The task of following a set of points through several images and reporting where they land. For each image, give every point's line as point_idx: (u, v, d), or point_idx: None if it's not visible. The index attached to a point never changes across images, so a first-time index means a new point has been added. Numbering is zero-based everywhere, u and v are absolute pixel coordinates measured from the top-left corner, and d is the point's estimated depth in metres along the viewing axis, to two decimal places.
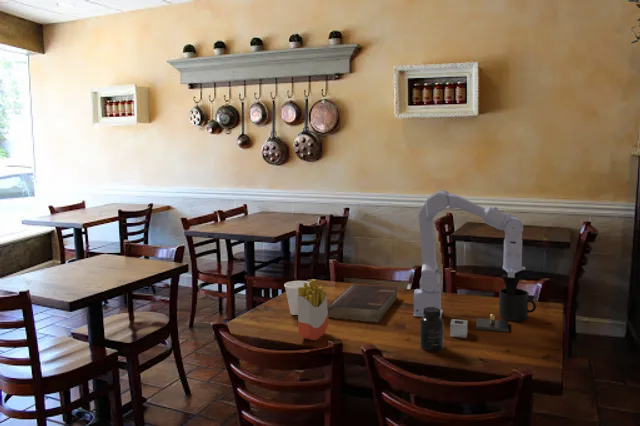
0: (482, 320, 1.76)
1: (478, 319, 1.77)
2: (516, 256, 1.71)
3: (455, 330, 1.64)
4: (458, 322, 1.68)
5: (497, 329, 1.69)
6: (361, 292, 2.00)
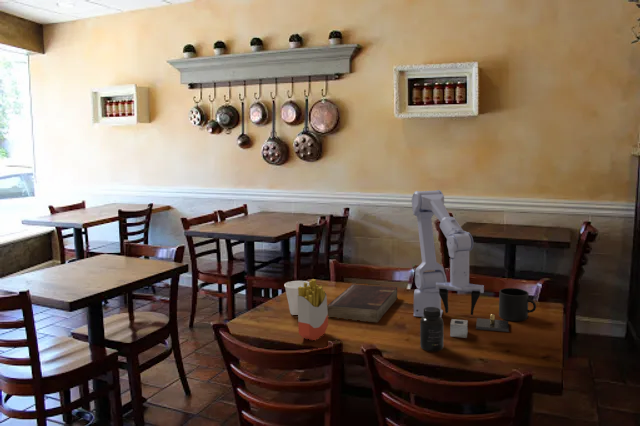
0: (482, 320, 1.76)
1: (478, 319, 1.77)
2: (451, 272, 1.64)
3: (455, 330, 1.64)
4: (458, 322, 1.68)
5: (497, 329, 1.69)
6: (361, 292, 2.00)
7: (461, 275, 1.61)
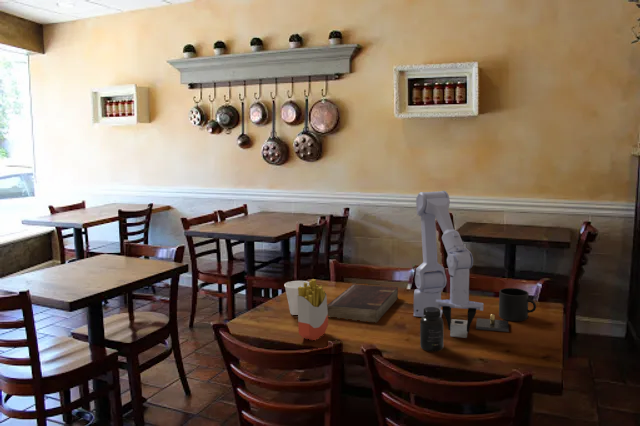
0: (482, 320, 1.76)
1: (478, 319, 1.77)
2: (450, 290, 1.64)
3: (455, 330, 1.64)
4: (458, 322, 1.68)
5: (497, 329, 1.69)
6: (361, 292, 2.00)
7: (461, 293, 1.62)
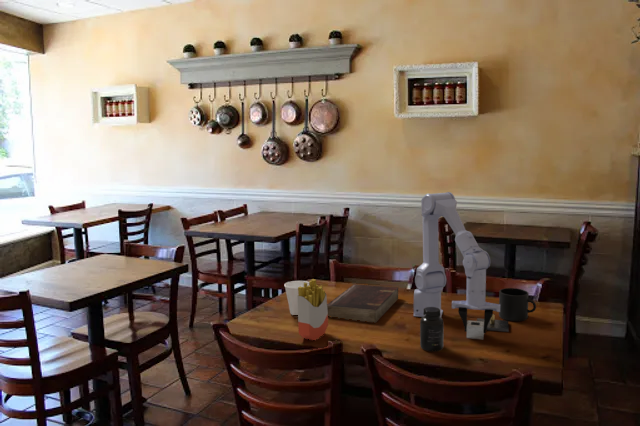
0: (482, 320, 1.76)
1: (478, 319, 1.77)
2: (467, 291, 1.63)
3: (471, 331, 1.63)
4: (474, 323, 1.66)
5: (497, 329, 1.69)
6: (361, 292, 2.00)
7: (478, 294, 1.60)
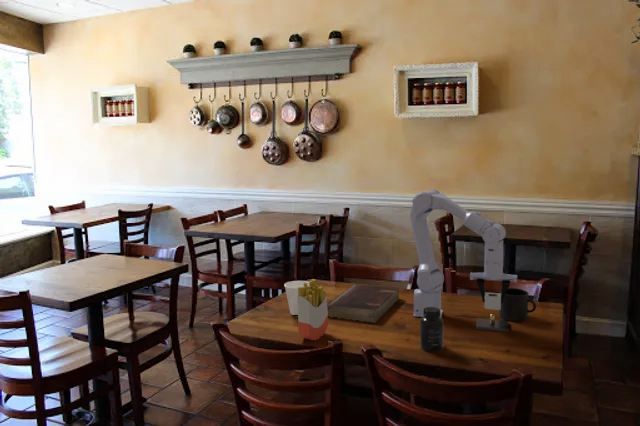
0: (482, 320, 1.76)
1: (478, 319, 1.77)
2: (485, 262, 1.69)
3: (489, 302, 1.69)
4: (492, 295, 1.73)
5: (497, 329, 1.69)
6: (361, 292, 2.00)
7: (495, 265, 1.67)
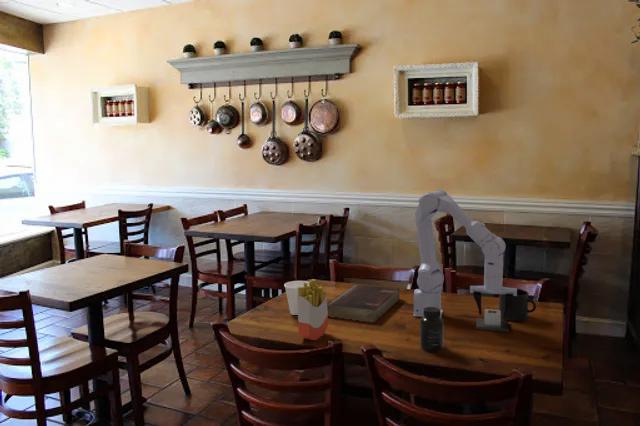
0: (482, 320, 1.76)
1: (478, 319, 1.77)
2: (485, 276, 1.70)
3: (489, 319, 1.70)
4: (491, 312, 1.73)
5: (497, 329, 1.69)
6: (362, 292, 2.00)
7: (495, 279, 1.68)
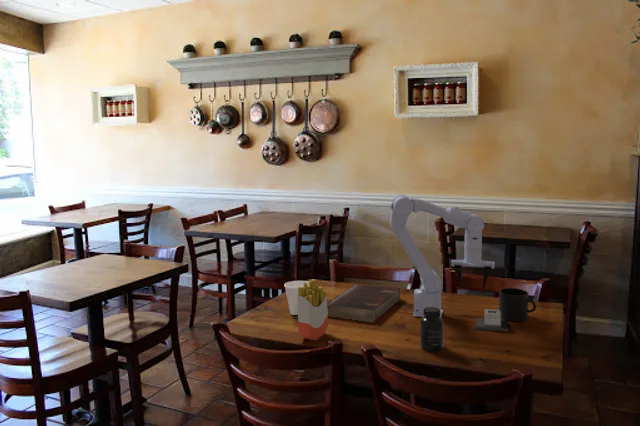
0: (482, 320, 1.76)
1: (478, 319, 1.77)
2: (465, 250, 1.82)
3: (489, 319, 1.70)
4: (491, 312, 1.73)
5: (497, 329, 1.69)
6: (362, 292, 2.00)
7: (474, 252, 1.79)
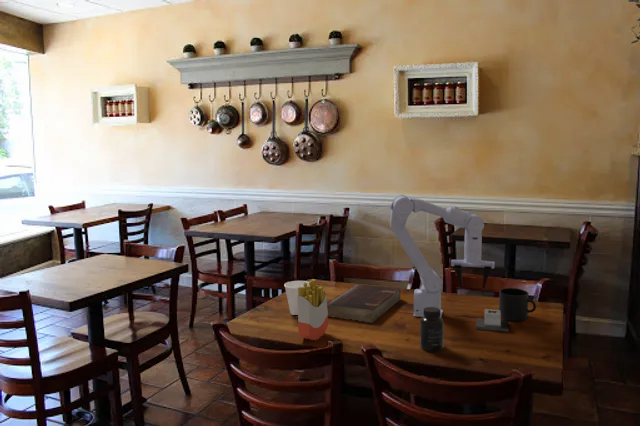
0: (482, 320, 1.76)
1: (478, 319, 1.77)
2: (465, 250, 1.82)
3: (489, 319, 1.70)
4: (491, 312, 1.73)
5: (497, 329, 1.69)
6: (362, 292, 2.00)
7: (474, 252, 1.79)
